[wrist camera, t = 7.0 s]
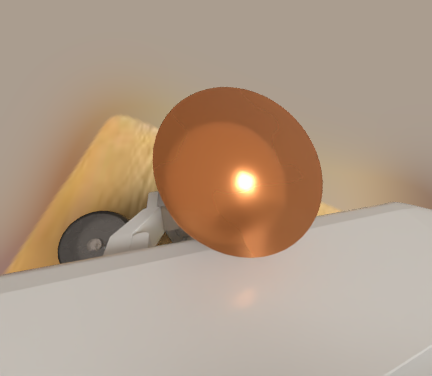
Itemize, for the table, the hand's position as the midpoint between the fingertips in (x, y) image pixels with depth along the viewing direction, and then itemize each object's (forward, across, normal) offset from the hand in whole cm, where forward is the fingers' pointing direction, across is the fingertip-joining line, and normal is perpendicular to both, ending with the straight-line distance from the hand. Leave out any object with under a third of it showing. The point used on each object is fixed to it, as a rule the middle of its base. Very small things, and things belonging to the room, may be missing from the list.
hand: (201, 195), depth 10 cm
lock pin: (+4, 0, -5) cm, 6 cm away
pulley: (+12, -13, -16) cm, 24 cm away
